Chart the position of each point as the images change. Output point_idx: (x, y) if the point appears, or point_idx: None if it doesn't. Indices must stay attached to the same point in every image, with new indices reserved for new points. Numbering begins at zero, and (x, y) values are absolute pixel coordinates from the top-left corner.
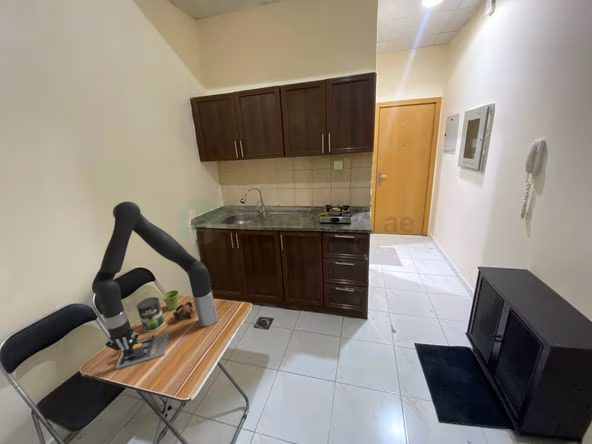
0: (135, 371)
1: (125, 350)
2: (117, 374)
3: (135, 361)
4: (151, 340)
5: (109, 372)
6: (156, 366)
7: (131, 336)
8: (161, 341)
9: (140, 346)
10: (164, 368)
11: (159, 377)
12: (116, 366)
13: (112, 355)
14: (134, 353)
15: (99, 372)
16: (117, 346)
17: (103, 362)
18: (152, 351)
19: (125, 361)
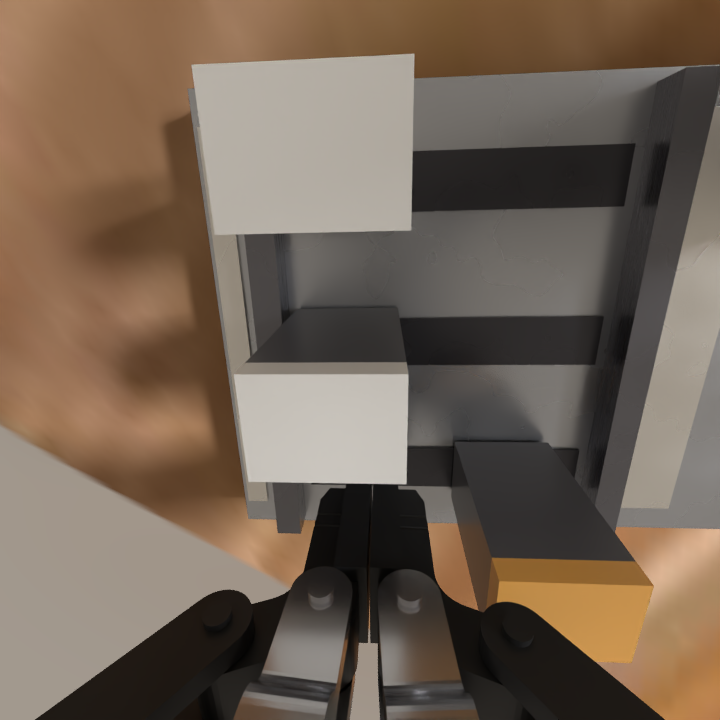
0: (457, 587)
1: (363, 637)
2: (296, 555)
3: (446, 514)
4: (666, 240)
5: (202, 501)
6: (647, 610)
7: (359, 223)
8: None
9: (624, 650)
10: (715, 657)
11: (665, 715)
12: (256, 516)
13: (85, 224)
14: (467, 555)
15: (93, 460)
16: (181, 655)
17: (40, 318)
18: (648, 465)
19: (333, 486)
